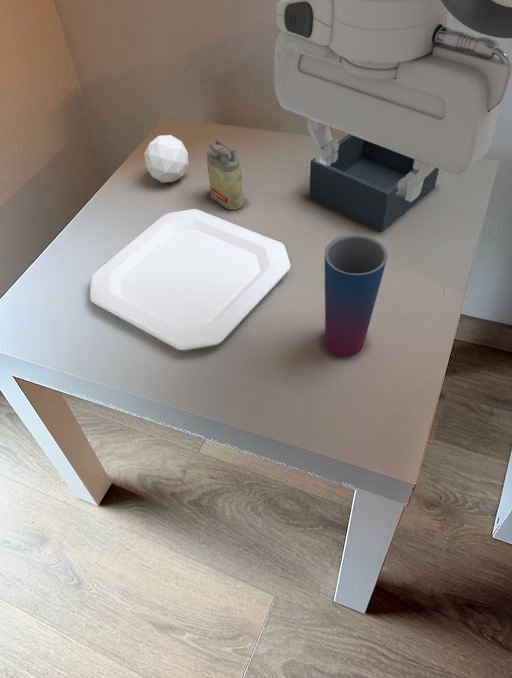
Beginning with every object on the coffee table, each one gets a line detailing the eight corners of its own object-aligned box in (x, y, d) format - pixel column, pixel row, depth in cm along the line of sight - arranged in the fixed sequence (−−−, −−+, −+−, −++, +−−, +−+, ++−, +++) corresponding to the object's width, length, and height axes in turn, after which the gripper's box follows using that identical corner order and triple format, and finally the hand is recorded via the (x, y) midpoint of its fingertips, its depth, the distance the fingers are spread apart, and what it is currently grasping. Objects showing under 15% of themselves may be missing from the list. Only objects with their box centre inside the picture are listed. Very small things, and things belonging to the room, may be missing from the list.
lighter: (207, 195, 94) (199, 140, 86) (224, 186, 95) (218, 131, 87) (232, 213, 90) (226, 158, 82) (249, 203, 91) (245, 148, 83)
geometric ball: (162, 195, 100) (128, 166, 95) (181, 159, 101) (148, 129, 96) (185, 189, 94) (150, 158, 89) (204, 151, 95) (171, 119, 90)
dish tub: (434, 187, 89) (444, 149, 84) (381, 232, 84) (388, 194, 78) (362, 158, 96) (366, 121, 90) (309, 197, 91) (310, 160, 85)
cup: (376, 330, 72) (394, 240, 60) (362, 368, 69) (377, 280, 57) (327, 317, 74) (335, 228, 62) (311, 353, 71) (316, 266, 59)
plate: (76, 300, 81) (71, 289, 79) (180, 211, 92) (178, 200, 90) (203, 371, 71) (201, 360, 69) (304, 262, 81) (305, 250, 80)
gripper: (543, 28, 37) (483, 202, 48) (310, -24, 46) (305, 131, 57) (494, 64, 34) (444, 239, 45) (260, 1, 44) (265, 158, 55)
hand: (365, 178), depth 51 cm, fingers open, 8 cm apart
